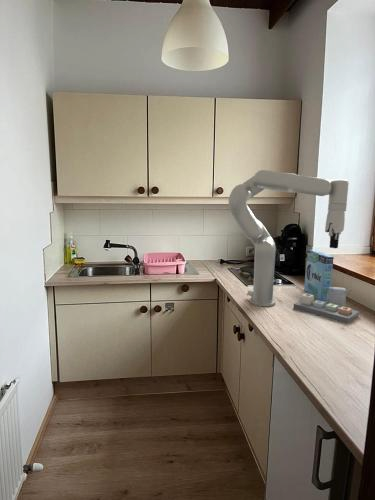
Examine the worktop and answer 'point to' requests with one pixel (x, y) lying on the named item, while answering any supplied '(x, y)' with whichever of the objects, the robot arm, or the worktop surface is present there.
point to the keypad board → (326, 312)
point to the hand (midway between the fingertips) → (333, 247)
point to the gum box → (318, 274)
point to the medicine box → (336, 296)
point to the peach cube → (345, 310)
